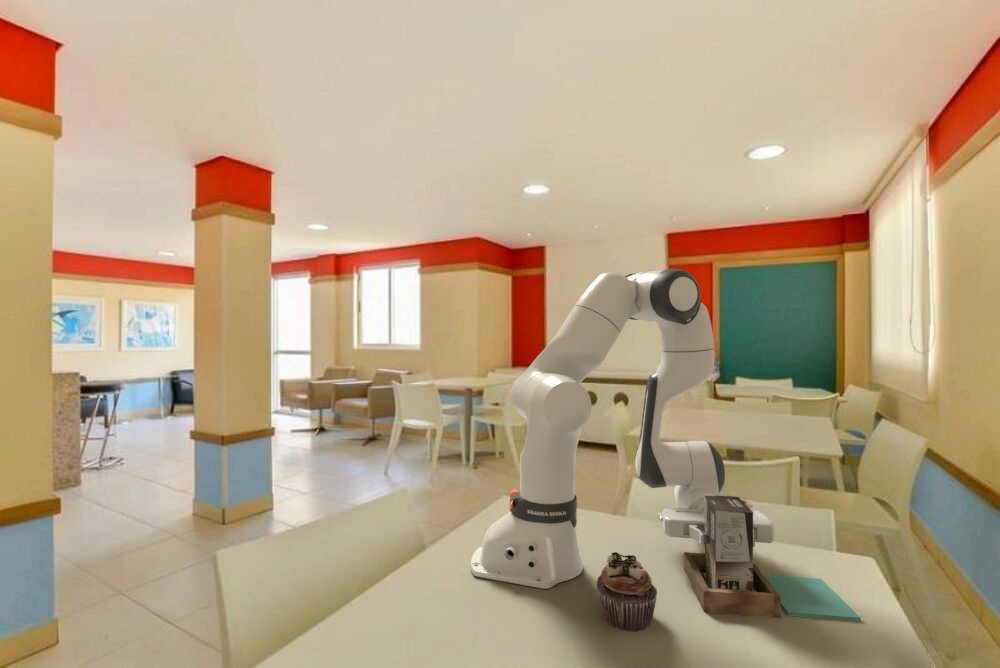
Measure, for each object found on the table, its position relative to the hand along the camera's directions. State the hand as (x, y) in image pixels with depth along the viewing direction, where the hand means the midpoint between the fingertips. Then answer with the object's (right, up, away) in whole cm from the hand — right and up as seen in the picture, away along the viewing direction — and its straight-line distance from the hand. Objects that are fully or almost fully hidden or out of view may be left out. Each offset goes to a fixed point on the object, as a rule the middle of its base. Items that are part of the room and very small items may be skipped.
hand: (727, 541), depth 88 cm
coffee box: (0, -9, 0) cm, 9 cm away
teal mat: (+13, -9, -2) cm, 16 cm away
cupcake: (-20, -9, -8) cm, 24 cm away
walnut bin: (0, -9, 0) cm, 9 cm away
